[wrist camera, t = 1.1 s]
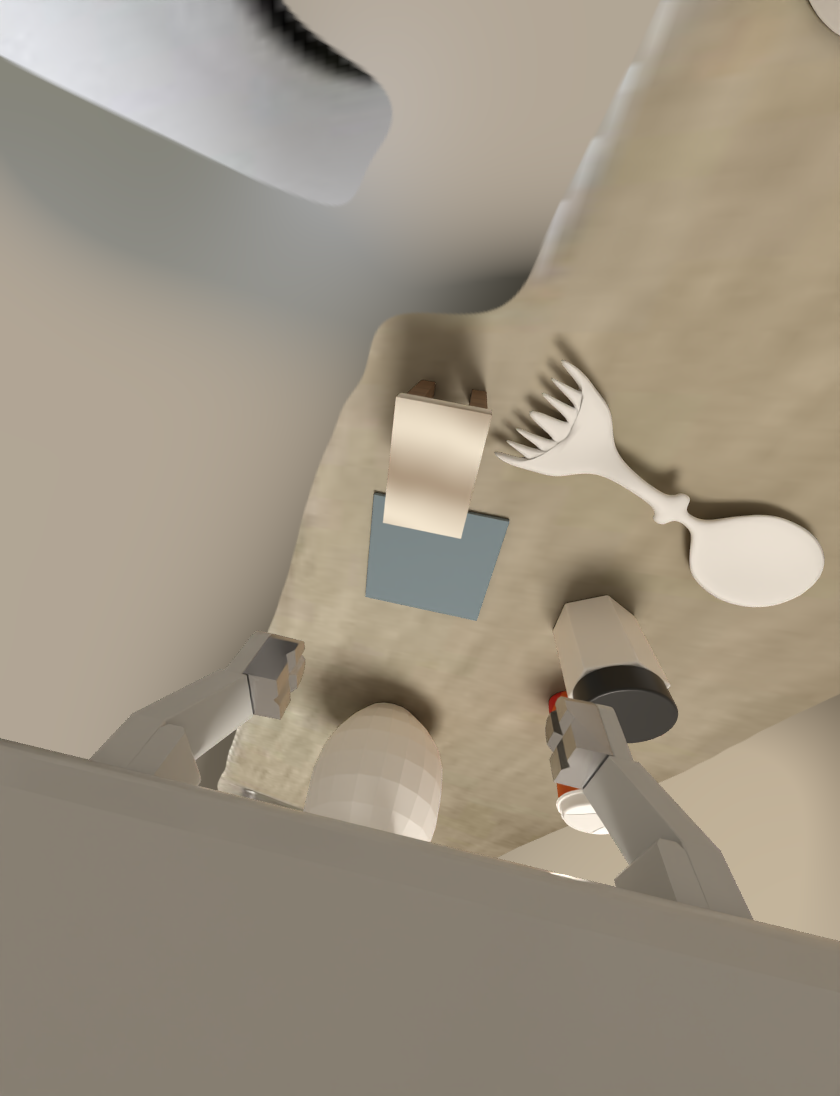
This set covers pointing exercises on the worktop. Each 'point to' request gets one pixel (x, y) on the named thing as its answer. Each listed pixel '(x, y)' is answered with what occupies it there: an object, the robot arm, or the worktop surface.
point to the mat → (433, 564)
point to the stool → (434, 460)
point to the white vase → (379, 773)
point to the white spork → (676, 506)
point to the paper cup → (576, 799)
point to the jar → (614, 666)
